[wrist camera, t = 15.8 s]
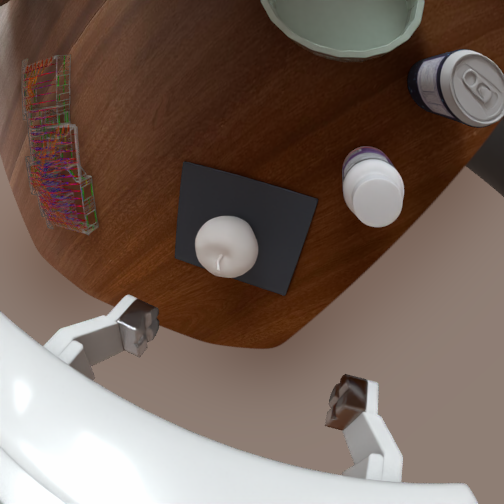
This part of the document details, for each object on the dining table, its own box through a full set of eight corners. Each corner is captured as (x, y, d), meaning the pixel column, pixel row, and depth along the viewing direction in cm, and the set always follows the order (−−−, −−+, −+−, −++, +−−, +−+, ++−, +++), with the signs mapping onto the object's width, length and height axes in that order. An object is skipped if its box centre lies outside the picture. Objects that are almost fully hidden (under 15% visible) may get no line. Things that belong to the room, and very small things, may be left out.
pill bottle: (391, 195, 30) (408, 237, 22) (342, 194, 31) (342, 235, 23) (392, 145, 27) (413, 170, 19) (340, 144, 29) (341, 168, 21)
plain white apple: (253, 265, 39) (234, 306, 32) (203, 242, 39) (175, 277, 32) (274, 221, 35) (257, 257, 28) (218, 195, 35) (188, 225, 28)
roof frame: (30, 59, 31) (6, 63, 26) (90, 40, 28) (62, 40, 24) (46, 219, 47) (27, 232, 43) (101, 234, 44) (81, 250, 40)
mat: (318, 198, 32) (318, 200, 32) (285, 293, 40) (285, 296, 40) (184, 161, 34) (182, 162, 34) (176, 256, 42) (174, 258, 42)
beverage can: (437, 123, 24) (488, 147, 14) (395, 88, 24) (429, 89, 14) (464, 85, 21) (524, 91, 11) (422, 48, 21) (468, 30, 11)
